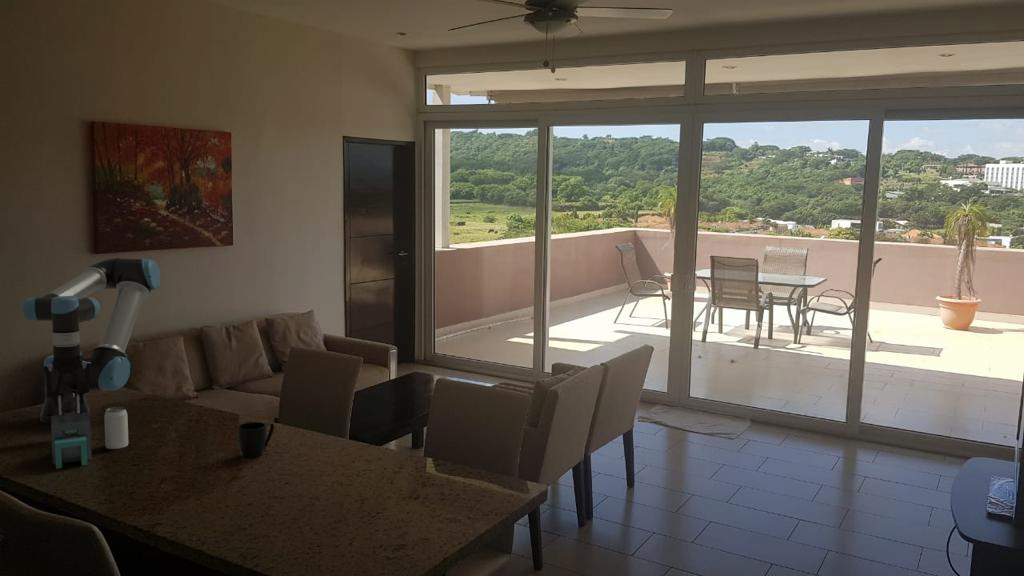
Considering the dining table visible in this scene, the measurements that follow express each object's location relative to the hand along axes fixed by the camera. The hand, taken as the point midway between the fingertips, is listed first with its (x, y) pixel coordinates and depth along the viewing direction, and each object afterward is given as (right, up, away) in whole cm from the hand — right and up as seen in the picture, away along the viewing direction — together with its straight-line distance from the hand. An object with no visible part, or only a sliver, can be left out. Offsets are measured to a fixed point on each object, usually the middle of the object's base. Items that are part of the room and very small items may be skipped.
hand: (69, 415), depth 254 cm
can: (+19, -9, -7) cm, 22 cm away
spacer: (+14, -10, -24) cm, 30 cm away
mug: (+65, -10, -11) cm, 66 cm away
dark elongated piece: (+6, -2, -10) cm, 12 cm away
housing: (+11, -10, -18) cm, 23 cm away
